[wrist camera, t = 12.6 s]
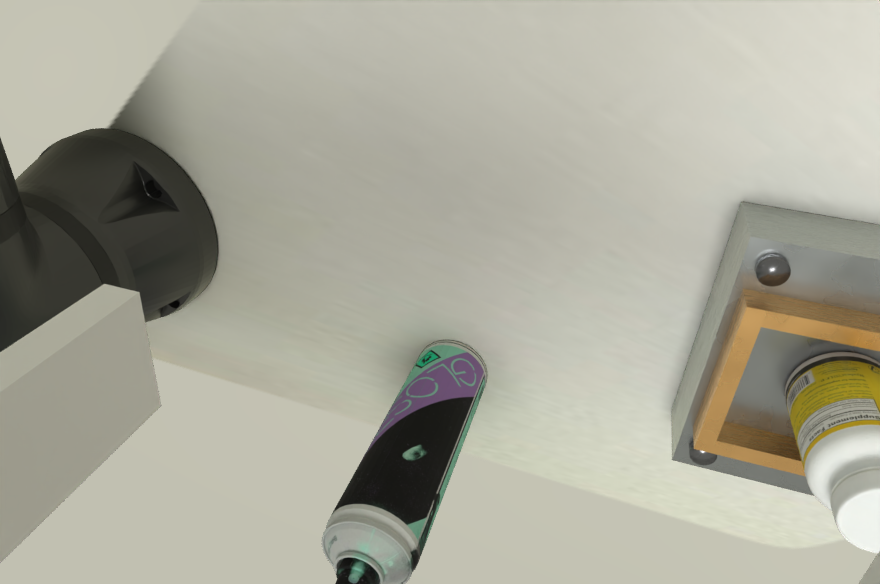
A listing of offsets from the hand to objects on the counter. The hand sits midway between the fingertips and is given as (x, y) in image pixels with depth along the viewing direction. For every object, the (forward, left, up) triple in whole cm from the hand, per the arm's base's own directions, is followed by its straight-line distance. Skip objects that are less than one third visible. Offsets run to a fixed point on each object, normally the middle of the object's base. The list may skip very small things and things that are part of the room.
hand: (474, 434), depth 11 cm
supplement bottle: (+16, -14, -26) cm, 34 cm away
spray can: (-7, -23, -31) cm, 39 cm away
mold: (+16, -14, -31) cm, 37 cm away
